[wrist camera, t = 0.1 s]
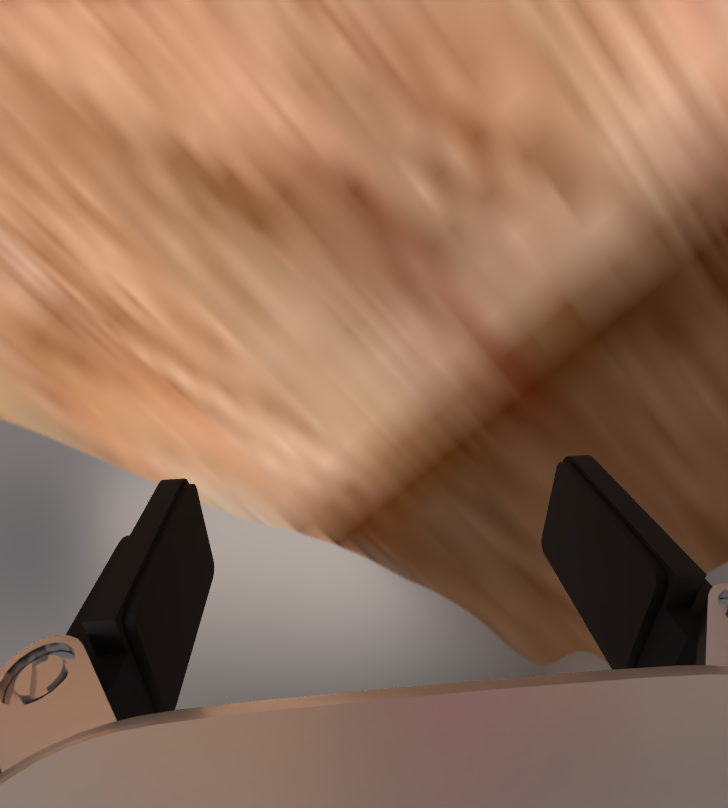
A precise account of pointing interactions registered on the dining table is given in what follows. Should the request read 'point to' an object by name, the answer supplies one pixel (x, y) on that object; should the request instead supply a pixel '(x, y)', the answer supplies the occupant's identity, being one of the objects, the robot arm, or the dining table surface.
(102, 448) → the dining table surface
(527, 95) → the dining table surface
